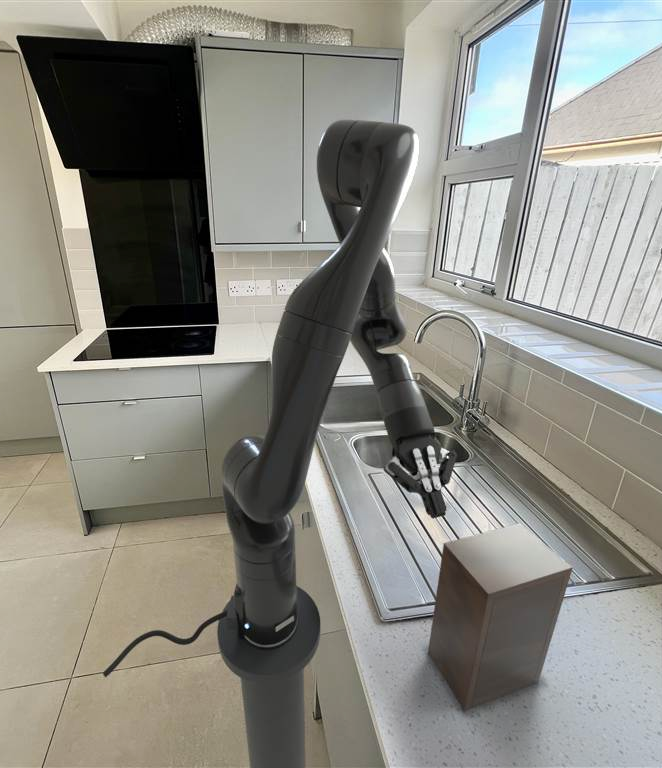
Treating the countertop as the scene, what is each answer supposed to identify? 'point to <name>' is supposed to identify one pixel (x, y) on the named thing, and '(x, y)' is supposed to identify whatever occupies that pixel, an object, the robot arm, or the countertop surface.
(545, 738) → the countertop surface
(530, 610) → the tall brown cuboid
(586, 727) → the countertop surface
